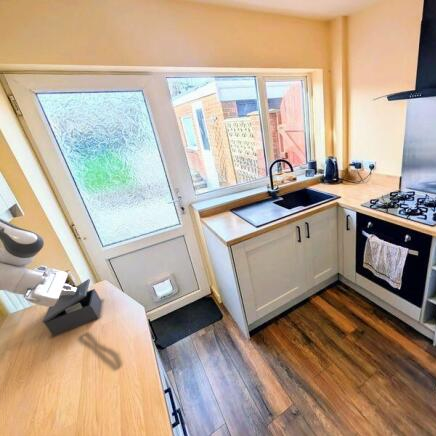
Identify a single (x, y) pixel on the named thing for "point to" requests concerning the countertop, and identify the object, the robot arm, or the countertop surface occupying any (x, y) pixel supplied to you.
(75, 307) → the block
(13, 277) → the robot arm
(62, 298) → the lid
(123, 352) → the countertop surface
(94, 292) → the chest
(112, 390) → the countertop surface
